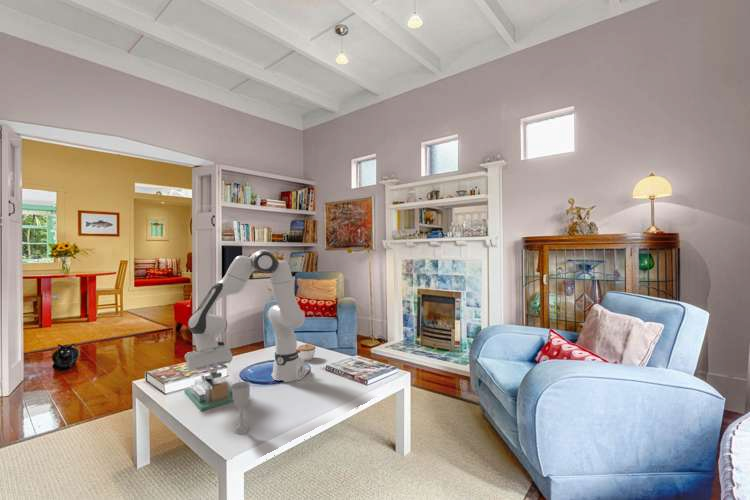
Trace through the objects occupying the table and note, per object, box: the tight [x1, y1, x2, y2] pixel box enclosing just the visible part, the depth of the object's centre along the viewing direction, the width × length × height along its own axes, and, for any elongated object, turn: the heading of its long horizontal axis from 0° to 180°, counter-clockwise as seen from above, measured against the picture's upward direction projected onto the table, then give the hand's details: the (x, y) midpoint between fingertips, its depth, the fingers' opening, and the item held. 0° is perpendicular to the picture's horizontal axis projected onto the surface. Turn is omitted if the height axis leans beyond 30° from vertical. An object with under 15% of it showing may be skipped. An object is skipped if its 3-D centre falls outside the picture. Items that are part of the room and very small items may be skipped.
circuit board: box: [183, 387, 234, 412], centre depth 170 cm, size 26×18×1 cm
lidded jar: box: [297, 343, 316, 362], centre depth 221 cm, size 11×11×9 cm
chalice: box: [231, 381, 252, 435], centre depth 138 cm, size 7×7×18 cm
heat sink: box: [190, 374, 234, 402], centre depth 169 cm, size 16×15×7 cm
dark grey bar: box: [204, 372, 223, 379], centre depth 169 cm, size 16×4×2 cm, turn 42°
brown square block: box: [210, 381, 228, 403], centre depth 162 cm, size 2×7×7 cm, turn 132°
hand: (213, 374), depth 167 cm, fingers closed
